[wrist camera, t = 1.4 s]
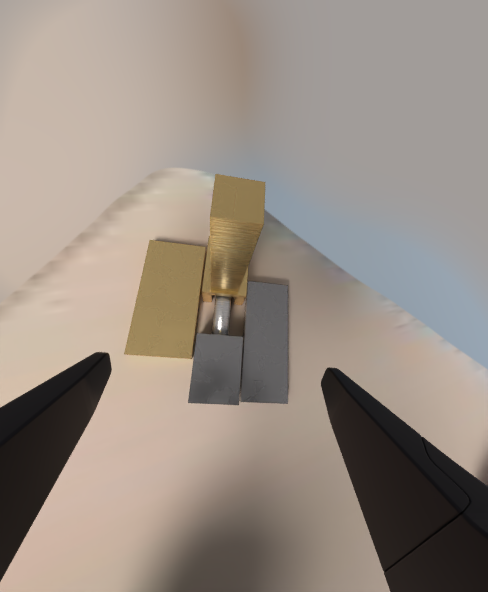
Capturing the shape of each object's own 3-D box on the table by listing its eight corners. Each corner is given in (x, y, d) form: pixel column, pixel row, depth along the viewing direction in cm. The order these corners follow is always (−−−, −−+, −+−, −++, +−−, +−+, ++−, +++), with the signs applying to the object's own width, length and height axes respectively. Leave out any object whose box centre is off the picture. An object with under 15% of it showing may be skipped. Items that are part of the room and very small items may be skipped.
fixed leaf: (284, 402, 21) (294, 407, 19) (191, 397, 20) (188, 402, 18) (284, 264, 26) (293, 253, 23) (208, 255, 25) (208, 242, 22)
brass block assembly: (237, 362, 22) (277, 359, 9) (128, 354, 21) (-19, 339, 8) (245, 256, 26) (280, 141, 12) (152, 244, 24) (81, 103, 11)
